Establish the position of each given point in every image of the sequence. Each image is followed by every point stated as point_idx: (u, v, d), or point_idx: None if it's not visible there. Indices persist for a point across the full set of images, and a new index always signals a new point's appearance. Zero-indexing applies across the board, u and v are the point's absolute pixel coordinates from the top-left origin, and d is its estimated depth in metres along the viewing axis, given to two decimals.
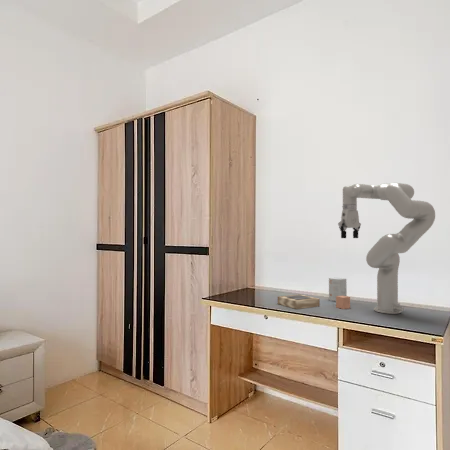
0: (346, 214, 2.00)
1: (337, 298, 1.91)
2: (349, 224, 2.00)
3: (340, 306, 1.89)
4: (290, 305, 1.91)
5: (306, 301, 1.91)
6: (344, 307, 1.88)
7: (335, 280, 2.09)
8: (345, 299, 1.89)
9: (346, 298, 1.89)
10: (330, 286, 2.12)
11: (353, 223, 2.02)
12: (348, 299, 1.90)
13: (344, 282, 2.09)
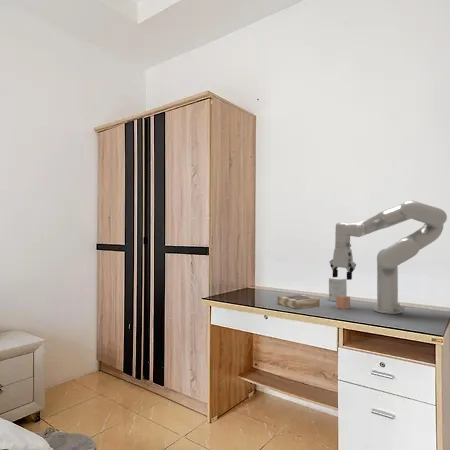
0: (351, 254, 1.89)
1: (337, 298, 1.91)
2: None
3: (340, 306, 1.89)
4: (290, 305, 1.91)
5: (306, 301, 1.91)
6: (344, 307, 1.88)
7: (335, 280, 2.09)
8: (345, 299, 1.89)
9: (346, 298, 1.89)
10: (330, 286, 2.12)
11: None
12: (348, 299, 1.90)
13: (344, 282, 2.09)
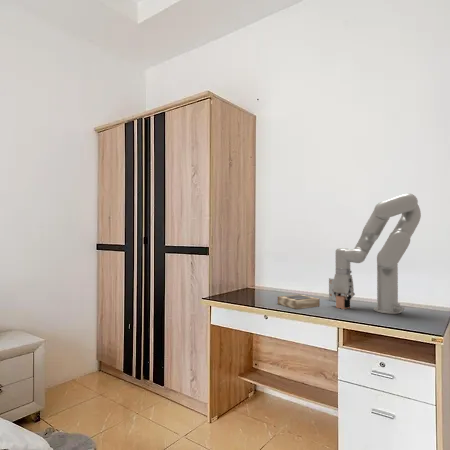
0: (352, 280, 1.88)
1: (337, 298, 1.91)
2: None
3: (340, 306, 1.89)
4: (290, 305, 1.91)
5: (306, 301, 1.91)
6: (344, 307, 1.88)
7: None
8: (345, 299, 1.89)
9: None
10: (330, 286, 2.12)
11: None
12: None
13: None
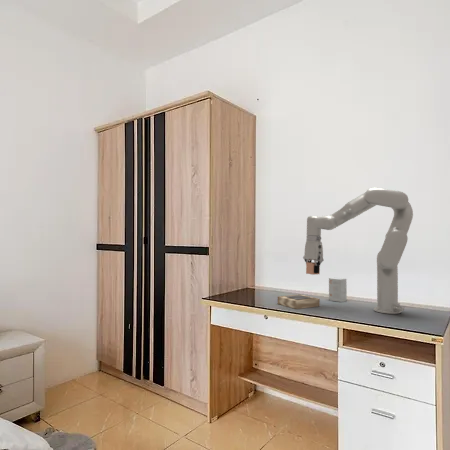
0: None
1: (307, 264, 1.96)
2: None
3: (310, 272, 1.94)
4: (290, 305, 1.91)
5: (306, 301, 1.91)
6: (313, 272, 1.93)
7: (335, 280, 2.09)
8: (314, 265, 1.94)
9: None
10: (330, 286, 2.12)
11: None
12: None
13: (344, 282, 2.09)
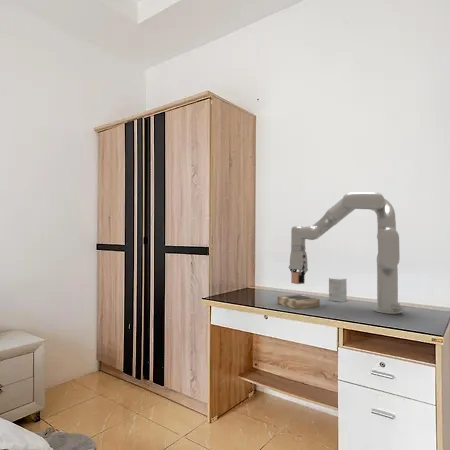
0: (306, 256, 1.95)
1: (292, 274, 1.99)
2: None
3: (295, 281, 1.97)
4: (290, 305, 1.91)
5: (306, 301, 1.91)
6: (298, 282, 1.95)
7: (335, 280, 2.09)
8: (299, 274, 1.96)
9: None
10: (330, 286, 2.12)
11: None
12: None
13: (344, 282, 2.09)
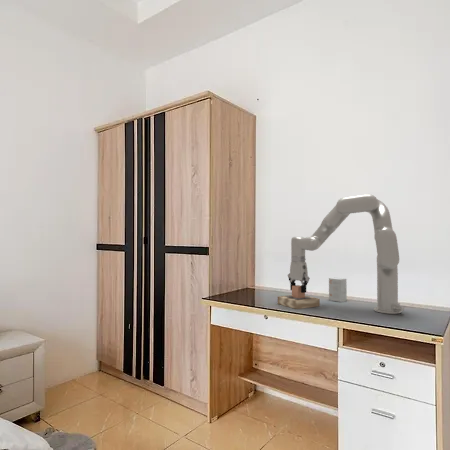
0: (306, 267, 1.95)
1: (293, 287, 1.98)
2: None
3: (295, 295, 1.96)
4: (290, 305, 1.91)
5: (306, 301, 1.91)
6: (299, 296, 1.95)
7: (335, 280, 2.09)
8: (300, 288, 1.96)
9: None
10: (330, 286, 2.12)
11: None
12: None
13: (344, 282, 2.09)
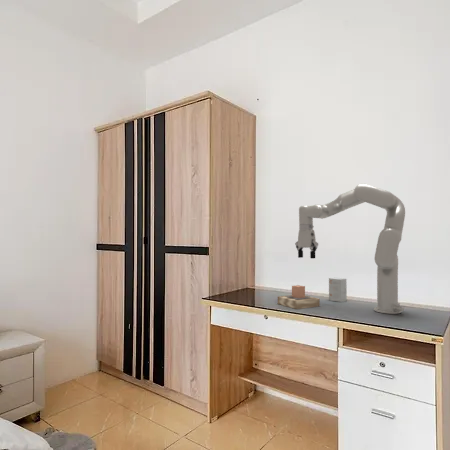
0: (314, 234, 2.02)
1: (293, 287, 1.98)
2: None
3: (295, 295, 1.96)
4: (290, 305, 1.91)
5: (306, 301, 1.91)
6: (299, 296, 1.95)
7: (335, 280, 2.09)
8: (300, 288, 1.96)
9: (301, 287, 1.96)
10: (330, 286, 2.12)
11: None
12: (303, 288, 1.97)
13: (344, 282, 2.09)
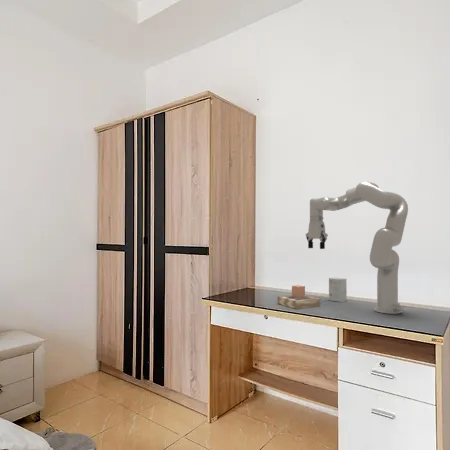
0: (324, 226, 2.10)
1: (293, 287, 1.98)
2: None
3: (295, 295, 1.96)
4: (290, 305, 1.91)
5: (306, 301, 1.91)
6: (299, 296, 1.95)
7: (335, 280, 2.09)
8: (300, 288, 1.96)
9: (301, 287, 1.96)
10: (330, 286, 2.12)
11: None
12: (303, 288, 1.97)
13: (344, 282, 2.09)
